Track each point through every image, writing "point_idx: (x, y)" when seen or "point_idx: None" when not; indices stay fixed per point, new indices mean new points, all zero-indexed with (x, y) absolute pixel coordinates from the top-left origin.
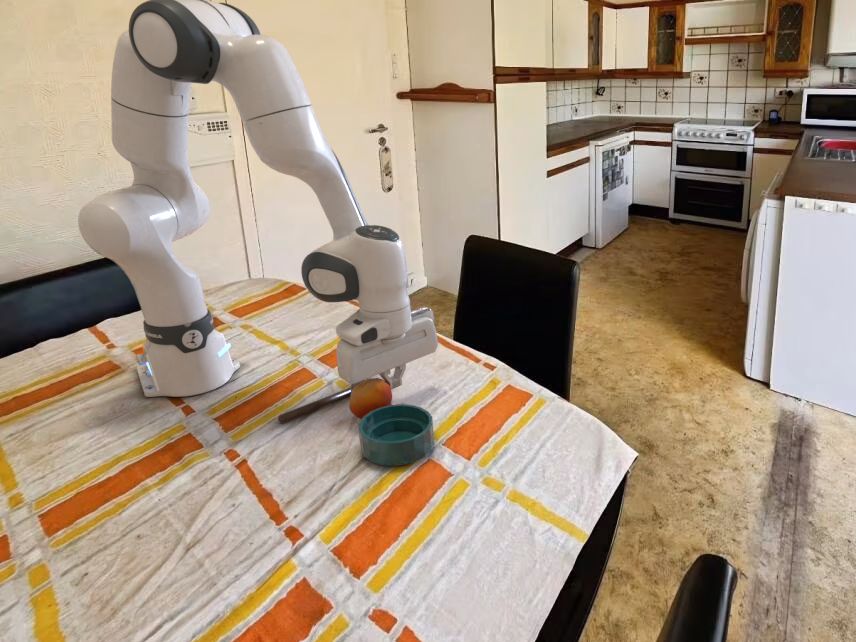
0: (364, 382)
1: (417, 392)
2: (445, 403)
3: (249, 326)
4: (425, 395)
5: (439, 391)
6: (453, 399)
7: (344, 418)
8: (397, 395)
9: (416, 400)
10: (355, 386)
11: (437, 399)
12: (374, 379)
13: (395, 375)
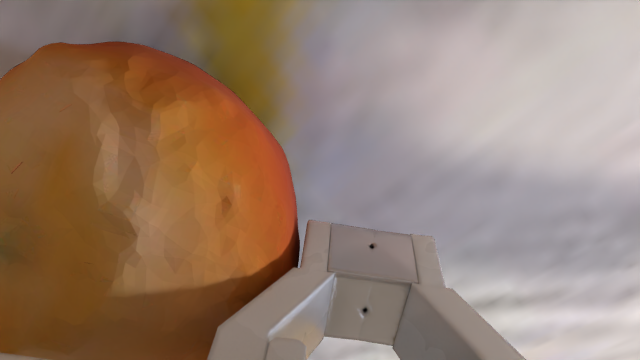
0: (57, 250)
1: (562, 177)
2: (514, 347)
3: None
4: (547, 235)
5: (630, 265)
6: (570, 353)
7: (14, 43)
8: (460, 101)
9: (466, 232)
10: None
11: (534, 303)
12: (129, 345)
13: (410, 317)
